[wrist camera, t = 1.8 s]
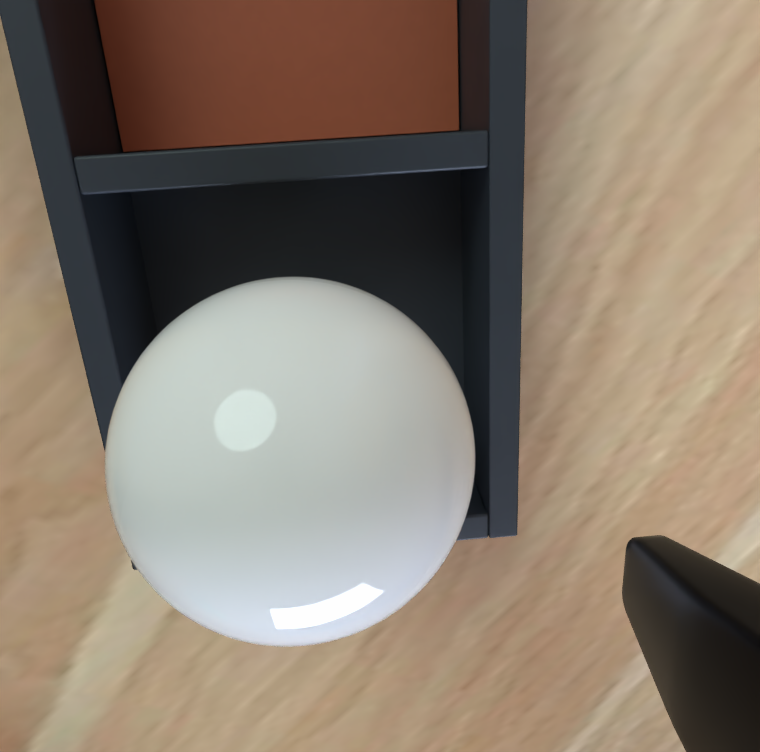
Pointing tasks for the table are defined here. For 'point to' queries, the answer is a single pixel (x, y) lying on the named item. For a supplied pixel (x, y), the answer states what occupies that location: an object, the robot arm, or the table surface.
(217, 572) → the lightbulb
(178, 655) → the table surface
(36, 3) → the tray
